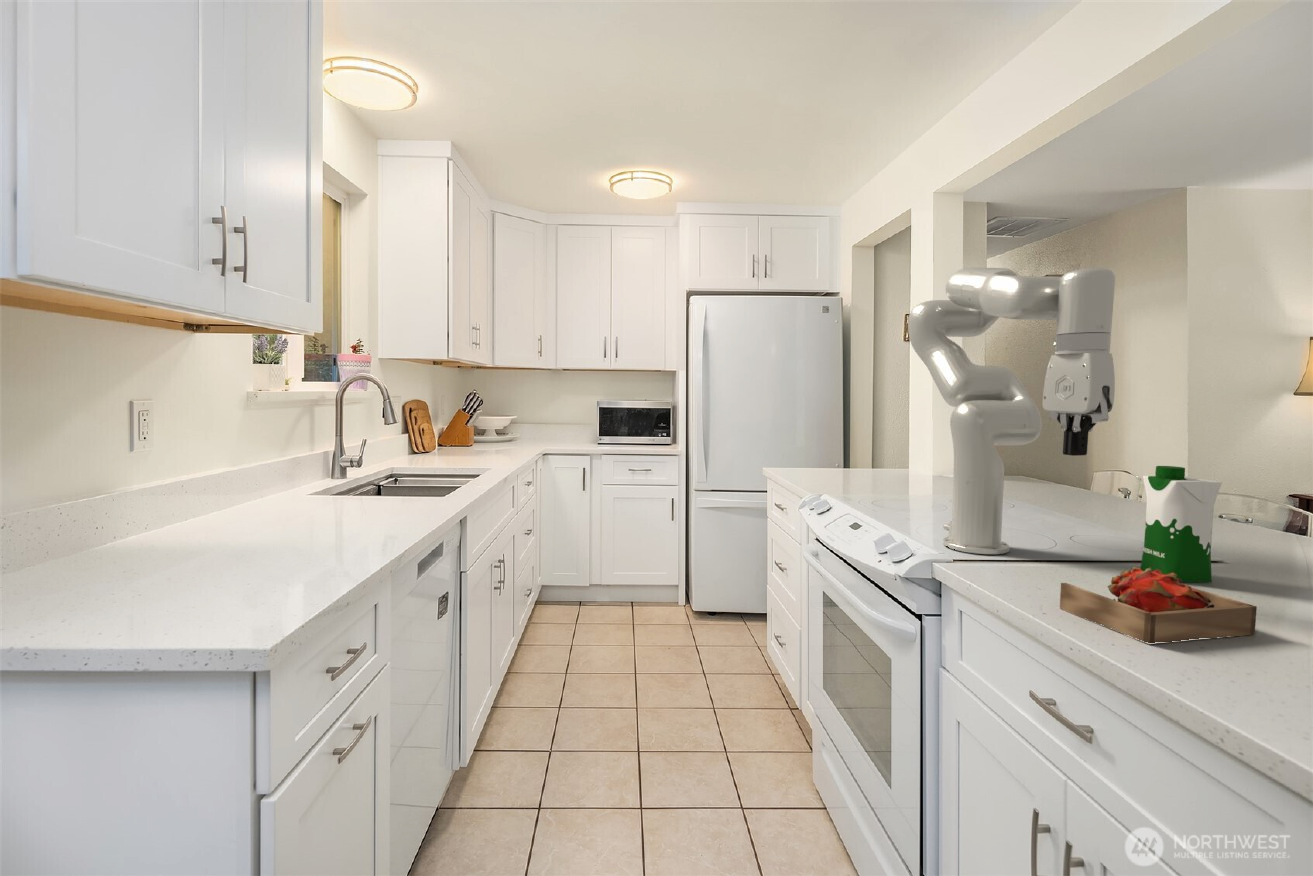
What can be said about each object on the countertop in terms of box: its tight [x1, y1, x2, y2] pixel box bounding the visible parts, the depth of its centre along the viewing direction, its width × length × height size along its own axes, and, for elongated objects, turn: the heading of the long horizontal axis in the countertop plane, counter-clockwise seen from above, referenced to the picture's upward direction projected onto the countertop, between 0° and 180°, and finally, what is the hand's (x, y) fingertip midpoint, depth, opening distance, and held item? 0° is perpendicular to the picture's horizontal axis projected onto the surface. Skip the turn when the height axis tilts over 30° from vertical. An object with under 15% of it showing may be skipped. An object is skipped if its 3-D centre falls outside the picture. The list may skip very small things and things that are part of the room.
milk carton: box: [1140, 465, 1223, 583], centre depth 108 cm, size 9×9×20 cm
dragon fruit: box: [1106, 566, 1214, 613], centre depth 87 cm, size 8×8×12 cm
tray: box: [1059, 582, 1258, 643], centre depth 87 cm, size 14×18×4 cm
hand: (1074, 454), depth 102 cm, fingers closed
